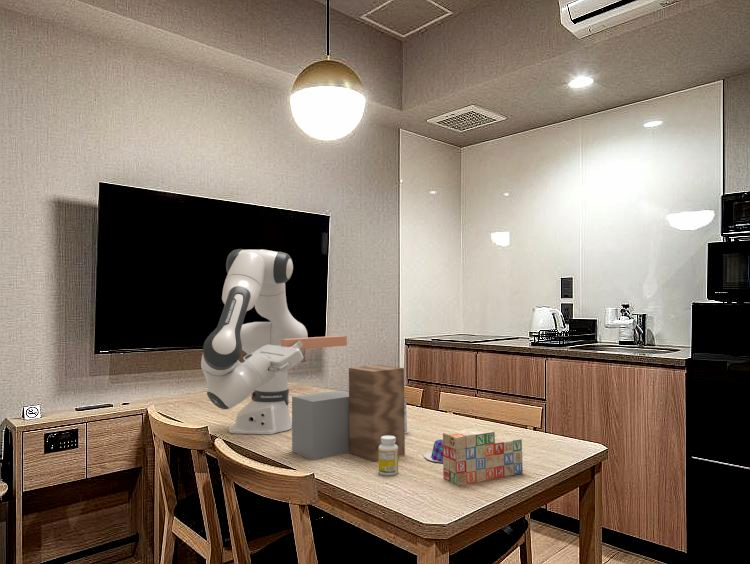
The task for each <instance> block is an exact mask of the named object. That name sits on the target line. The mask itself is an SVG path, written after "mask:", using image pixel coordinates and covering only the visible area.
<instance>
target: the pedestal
mask: <svg viewBox="0 0 750 564" xmlns="http://www.w3.org/2000/svg"><path fill="white" fill-rule="evenodd" d="M291 424H292V428H291V451H292V453H295V454H297V455H299V456H302V457H305V458H307V459H310V460H312V461H314V460H319V458H320V459H323V458H324V459H325V458H328V457H334V456H337V454H338V455H342V453H343V454H347V452H348V453H349V391H345V390H331V391H325V392H316V393H315V392H314V393H309V394H301V395H293V396H291ZM333 455H334V456H333Z"/></svg>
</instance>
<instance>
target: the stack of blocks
mask: <svg viewBox="0 0 750 564" xmlns="http://www.w3.org/2000/svg"><path fill="white" fill-rule="evenodd" d="M442 439H443V462H442V464H443V467H442V468H443V469H442V473H443V474H442V475H443V480H445V481H447V482H449V483H452V484H453V485H455V486H460V485H461V486H462V485H466V484H473V483H478V482H479V483H480V482H484V481H489V480H494V479H499V478H504V477H510V476H513V475H514V476H516V475H521V474H524V473H523V471H524V470H523V466H524V465H523V440H522V438H520V437H516V436H513V435H509V434H502V435H495V431H494V430H490V429H487V428H483V427H474V428H466V429H465V428H464V429H459V430H451V431H444V432H442Z"/></svg>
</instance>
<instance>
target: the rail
mask: <svg viewBox="0 0 750 564" xmlns="http://www.w3.org/2000/svg"><path fill="white" fill-rule="evenodd" d="M297 341H302V343H303V346H302V347H301V348H299V349H300V350H302V349H303V350H305V349H318V348H319V349H320V348H332V347H346V346H347V345H348V344H347V343H348V336H346V335H334V336H333V335H332V336H331V335H329V336H314V337H308V338H293V339H281V346H284V347H291V346H293V345H294V343H295V342H297Z"/></svg>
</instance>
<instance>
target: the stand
mask: <svg viewBox="0 0 750 564" xmlns="http://www.w3.org/2000/svg"><path fill="white" fill-rule="evenodd" d="M348 392H349V452H348V453H349V454H350V455H353V456H356V457H359V458H361V459H365V460H367V461H370V462H373V463H375V462H379V446H380V445H381V444H382V443H381V437H382V436H394V437H396V442H395V444H396V445H397V446H398V457H401V456H405V454H406V451H405V449H406V448H405V447H406V445H405V444H406V443H405V438H406V437H405V435H406V434H405V424H404V398H405V368H404V367H397V366H391V365H381V364H375V365H374V364H373V365H365V366H364V365H363V366H356V367H355V366H354V367H348Z"/></svg>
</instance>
